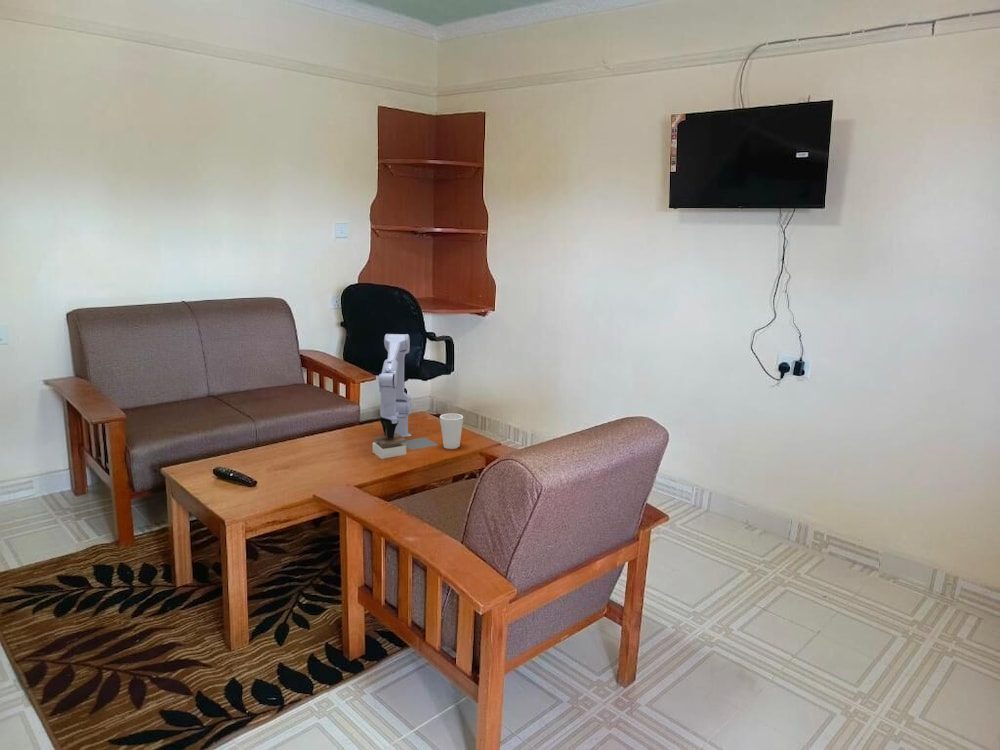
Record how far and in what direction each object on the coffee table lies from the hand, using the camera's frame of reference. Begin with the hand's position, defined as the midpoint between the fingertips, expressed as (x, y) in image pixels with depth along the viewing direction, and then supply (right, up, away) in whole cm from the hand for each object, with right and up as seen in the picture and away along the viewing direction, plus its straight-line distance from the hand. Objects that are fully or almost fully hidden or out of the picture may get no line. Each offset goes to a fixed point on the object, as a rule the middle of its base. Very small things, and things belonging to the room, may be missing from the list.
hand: (389, 436), depth 276 cm
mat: (+10, -4, +13) cm, 17 cm away
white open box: (0, -7, +2) cm, 7 cm away
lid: (0, -2, +1) cm, 2 cm away
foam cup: (+24, -6, +10) cm, 26 cm away
